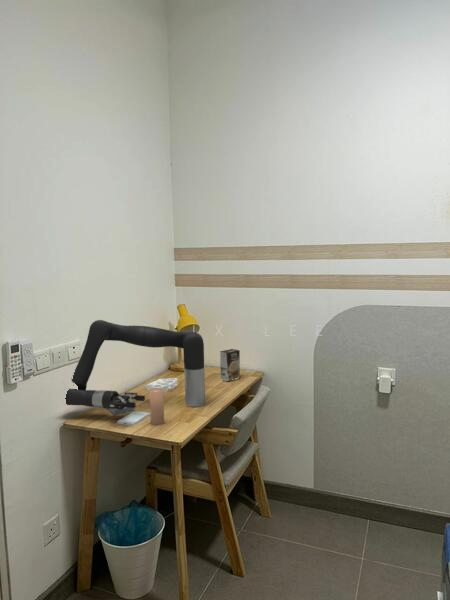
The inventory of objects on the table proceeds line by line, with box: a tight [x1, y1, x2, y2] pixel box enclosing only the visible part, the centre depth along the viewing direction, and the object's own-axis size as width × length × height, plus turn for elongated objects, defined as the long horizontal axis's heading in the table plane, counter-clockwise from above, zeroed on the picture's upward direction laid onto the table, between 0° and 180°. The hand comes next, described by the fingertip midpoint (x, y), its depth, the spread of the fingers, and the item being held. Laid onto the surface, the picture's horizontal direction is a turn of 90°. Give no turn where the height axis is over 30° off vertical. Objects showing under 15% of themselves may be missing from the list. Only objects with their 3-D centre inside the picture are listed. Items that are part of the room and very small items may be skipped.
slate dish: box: [105, 406, 136, 416], centre depth 203 cm, size 12×9×2 cm
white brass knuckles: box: [144, 377, 179, 393], centre depth 234 cm, size 3×18×15 cm
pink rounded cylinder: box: [148, 388, 165, 426], centre depth 186 cm, size 6×6×14 cm
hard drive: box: [116, 410, 150, 427], centre depth 191 cm, size 2×8×12 cm
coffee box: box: [219, 348, 241, 382], centre depth 245 cm, size 9×6×16 cm
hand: (139, 401), depth 188 cm, fingers open, 8 cm apart
